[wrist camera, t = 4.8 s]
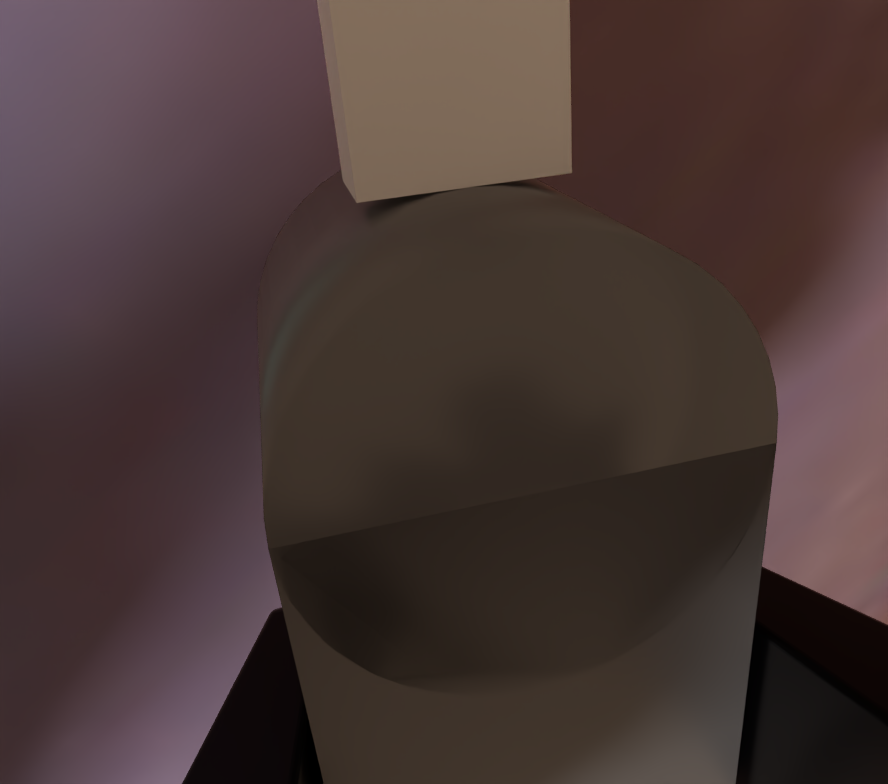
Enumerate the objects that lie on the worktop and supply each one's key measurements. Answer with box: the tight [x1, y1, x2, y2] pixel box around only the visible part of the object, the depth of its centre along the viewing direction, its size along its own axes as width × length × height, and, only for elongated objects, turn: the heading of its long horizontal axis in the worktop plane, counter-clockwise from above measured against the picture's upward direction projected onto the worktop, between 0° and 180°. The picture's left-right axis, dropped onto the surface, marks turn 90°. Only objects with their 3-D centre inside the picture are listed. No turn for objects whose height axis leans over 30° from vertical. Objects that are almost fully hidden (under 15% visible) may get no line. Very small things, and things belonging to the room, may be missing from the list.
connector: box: [257, 0, 778, 784], centre depth 8 cm, size 12×4×4 cm, turn 5°
